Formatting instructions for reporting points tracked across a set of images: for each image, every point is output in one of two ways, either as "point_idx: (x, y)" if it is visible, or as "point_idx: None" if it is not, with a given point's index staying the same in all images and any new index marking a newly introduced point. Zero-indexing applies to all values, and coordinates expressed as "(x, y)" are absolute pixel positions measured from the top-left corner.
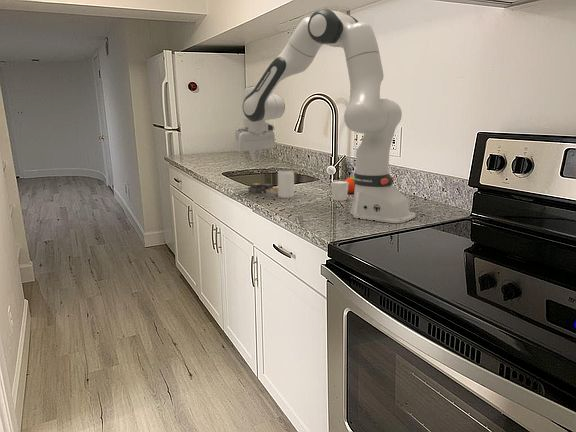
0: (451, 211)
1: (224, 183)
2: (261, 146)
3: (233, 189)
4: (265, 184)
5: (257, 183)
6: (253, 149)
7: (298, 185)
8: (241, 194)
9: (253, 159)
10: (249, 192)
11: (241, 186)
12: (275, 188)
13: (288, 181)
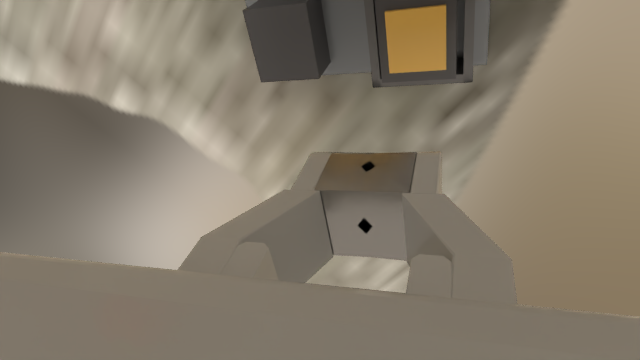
0: None
1: None
2: (129, 329)
3: None
4: (293, 57)
5: (393, 51)
6: (547, 320)
7: (29, 59)
8: (494, 111)
9: (441, 185)
10: (480, 46)
11: (321, 269)
12: None
13: None
